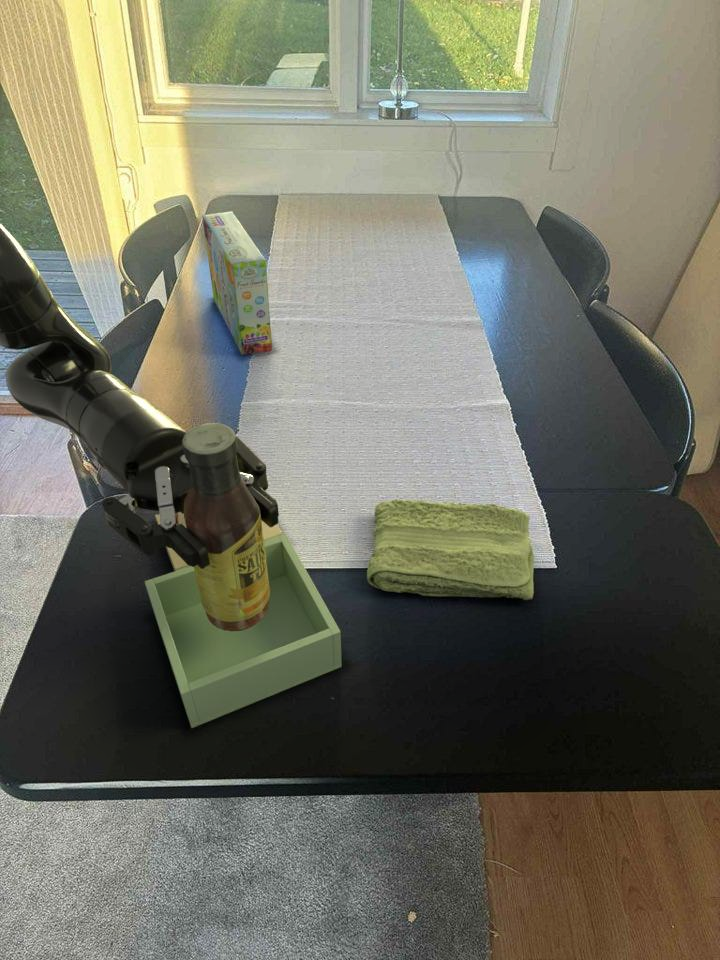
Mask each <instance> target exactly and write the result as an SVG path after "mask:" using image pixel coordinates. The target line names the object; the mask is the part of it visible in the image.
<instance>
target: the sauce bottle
mask: <svg viewBox="0 0 720 960" xmlns="http://www.w3.org/2000/svg"><path fill="white" fill-rule="evenodd" d="M236 436H237V435H236V433H235V431H234V429H232V428H231V427H230V426H228V425H227V424H225V423H219V422H207V423H202V424H199V425H195V426H194V427H192V428H190V429H189V430H188V431H186V434H185V435H184V437H183V440H182V446H183V451H184V455H185V458H186V459H187V461H188V463H189V468H190V472H191V483H192V487H191V489H190V491H188V492H187V495H186V498H185V501H184V512H183V513H184V518H185V523H186V527H187V529H188V530H189V531H190V532H191V533H192V534H193V535H194V536H195V537H196V538H197V539H198V540H199V541H200V542H201V543H202V544H203V545H204V546H205V548H206V549H207V552H208V556H209V561H210V565H208V566H207V567H205V568H203V569H201V568H200V567H199V566H198V565H196V566H194V571H195V576H196V581H197V585H198V590H199V594H200V598H201V603H202V606H203V609H204V610H205V612H206V615H207V617H208V620H209V621H210V622H211V623H212V624H213V625H214V626H216V627H217V628H219V629H222V630H224V631H242V630H245V629H248V628H250V627H252V626H254V625H255V624H256V623H257V622H259V621H260V620H261V619H262V618H263V616H264V615H265V614H266V611H267V609H268V605H269V595H270V589H269V581H268V572H267V564H266V555H265V547H264V538H263V531H262V522H261V514H260V508H259V506H258V504H257V503H256V501H255V499H254V498H253V496H252V495H251V493H250V491H249V490H248V488H247V487H246V485H245V483H244V482H243V480H242V479H241V473H240V471H239V469H238V460H237V455H236V454H237V451H238V444H237V440H236Z"/></svg>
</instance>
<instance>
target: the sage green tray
mask: <svg viewBox="0 0 720 960" xmlns="http://www.w3.org/2000/svg"><path fill="white" fill-rule="evenodd" d="M264 547H265V555H266V564H267V572H268V581H269V589H270V595H269V605H268V609H267V611H266V614H265V615H264V616H263V618H262V619H261V620H260V621H259V622H257V623H256V624H255V625H254V626H252V627H250V628H248V629H245V630H242V631H224V630H222V629H219V628H217V627H216V626H214V625H213V624H212V623H211V622H210V621H209V620H208V617H207V615H206V612H205V610H204V609H203V606H202V603H201V598H200V594H199V590H198V585H197V581H196V576H195V571H194V567H192V566H190V567H187V568H184V569H181V570H178V571H172V572H169V573H166V574H163V575H160V576H157V577H153V578H150V579H148V580H147V579H146V580H144V585H145V589H146V591H147V595H148V598H149V600H150V604H151V607H152V610H153V613H154V617H155V621H156V623H157V626H158V630H159V633H160V635H161V638H162V639H161V640H162V642H163V645H164V647H165V651H166V654H167V657H168V660H169V663H170V666H171V670H172V673H173V675H174V678H175V682H176V685H177V688H178V691H179V695H180V698H181V700H182V701H181V702H182V703H183V706H184V710H185V713H186V716H187V719H188V723H189V725H190V728H191V729H194V728H196V727H199V726H201V725H203V724H205V723H209V722H211V721H213V720H215V719H218V718H220V717H223V716H224V715H225V716H226V715H228V714H231V713H232V712H235V711H237V710H240V709H242V708H245V707H247V706H250V705H252V704H255V703H257V702H259V701H261V700H264V699H266V698H270V697H271V696H274V695H276V694H279V693H281V692H283V691H286V690H289V689H291V688H293V687H296V686H298V685H301V684H304V683H306V682H308V681H310V680H313V679H315V678H317V677H320V676H323V675H325V674H327V673H330V672H332V671H335V670H337V669H339V668H342V666H343V665H342V663H343V662H342V635H341V630H340V627H339V626H338V625H337V622H336V621H335V619H334V617H333V615H332V614H331V612H330V610H329V608H328V607H327V605H326V603H325V601H324V600H323V598H322V596H321V594H320V593H319V590H318V589H317V587H316V585H315V584H314V581H313V580H312V578H311V577H310V574H309V572H308V571H307V569H306V567H305V565H304V563H303V562H302V560H301V559H300V556H299V555H298V553H297V552H296V549H295V548H294V546H293V543H292V542H291V541H290V539H289V537H288V535H287V534H286V533H285V534H282V536H279V537H277V538H274V539H271V540H268V541H265V542H264Z"/></svg>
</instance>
